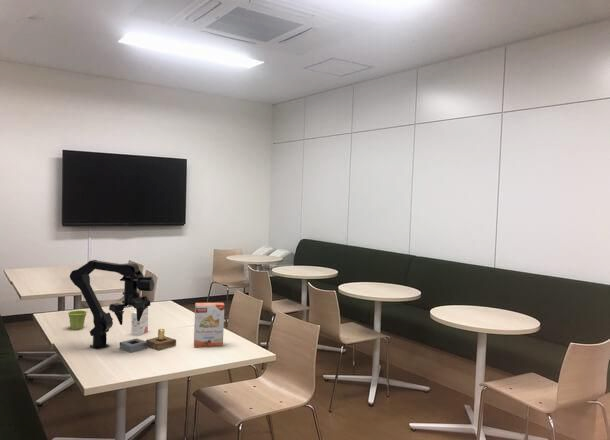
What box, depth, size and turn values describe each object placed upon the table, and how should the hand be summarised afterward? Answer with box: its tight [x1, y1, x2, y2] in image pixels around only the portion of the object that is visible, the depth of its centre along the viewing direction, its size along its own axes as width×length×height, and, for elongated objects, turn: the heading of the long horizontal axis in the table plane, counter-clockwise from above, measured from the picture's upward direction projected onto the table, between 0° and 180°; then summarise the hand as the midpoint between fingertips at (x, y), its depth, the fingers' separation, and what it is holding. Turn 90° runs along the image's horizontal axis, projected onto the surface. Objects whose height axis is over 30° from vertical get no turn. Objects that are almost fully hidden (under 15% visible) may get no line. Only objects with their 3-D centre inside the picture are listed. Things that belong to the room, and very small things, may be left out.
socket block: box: [119, 337, 149, 354], centre depth 223 cm, size 9×9×3 cm
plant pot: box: [67, 310, 88, 331], centre depth 253 cm, size 9×9×9 cm
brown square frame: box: [145, 335, 177, 351], centre depth 228 cm, size 10×10×3 cm
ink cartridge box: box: [130, 306, 149, 336], centre depth 248 cm, size 9×5×15 cm, turn 168°
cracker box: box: [193, 302, 225, 348], centre depth 232 cm, size 14×6×21 cm, turn 105°
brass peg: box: [157, 328, 165, 342], centre depth 228 cm, size 3×3×8 cm
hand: (129, 323), depth 223 cm, fingers open, 9 cm apart
